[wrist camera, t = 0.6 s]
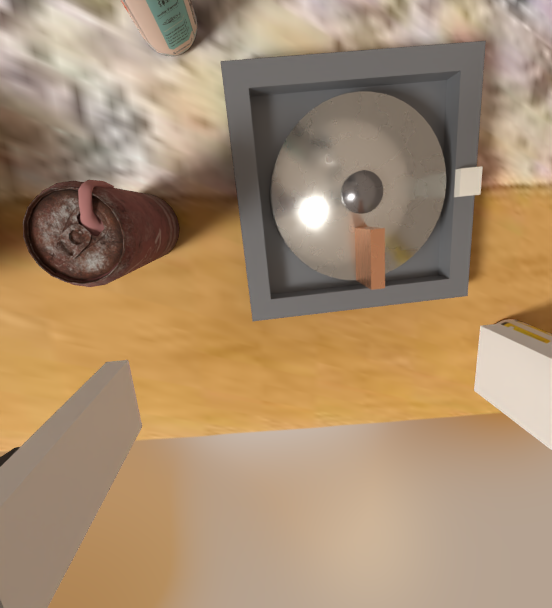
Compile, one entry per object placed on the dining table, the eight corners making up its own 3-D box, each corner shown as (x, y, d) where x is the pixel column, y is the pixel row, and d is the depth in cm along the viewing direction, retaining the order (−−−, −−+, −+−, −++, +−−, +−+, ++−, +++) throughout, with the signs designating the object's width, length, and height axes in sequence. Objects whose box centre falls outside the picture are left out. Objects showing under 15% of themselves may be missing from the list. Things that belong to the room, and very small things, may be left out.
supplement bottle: (479, 363, 39) (553, 411, 29) (483, 321, 37) (562, 357, 28) (522, 357, 39) (610, 403, 30) (528, 315, 37) (621, 349, 28)
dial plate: (223, 76, 28) (219, 56, 25) (462, 57, 30) (492, 35, 26) (252, 312, 35) (252, 323, 31) (449, 289, 36) (472, 297, 32)
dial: (261, 107, 28) (264, 79, 22) (437, 92, 29) (484, 62, 23) (278, 284, 33) (284, 299, 27) (430, 267, 33) (468, 278, 28)
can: (183, 198, 31) (133, 186, 18) (176, 263, 33) (126, 297, 19) (118, 185, 30) (13, 163, 17) (114, 252, 32) (15, 281, 18)
